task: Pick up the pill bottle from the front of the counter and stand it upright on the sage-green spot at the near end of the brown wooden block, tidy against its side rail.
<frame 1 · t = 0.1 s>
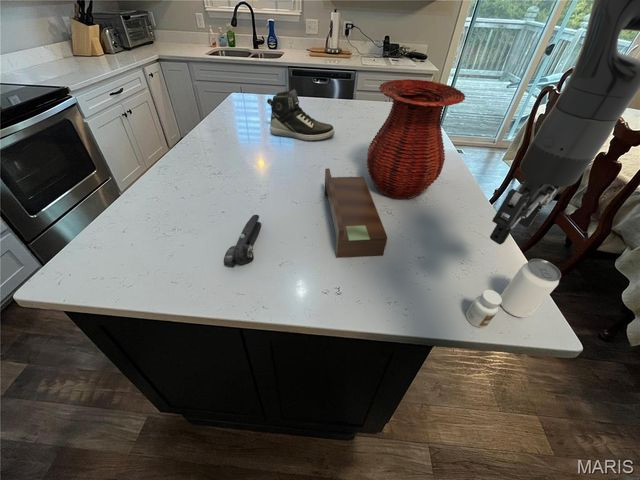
hand: (509, 232, 52), 20 cm above the kitchen island, tool pointing down, fingers open, 8 cm apart
pill bottle: (476, 319, 62), on the kitchen island
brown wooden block: (350, 221, 84), on the kitchen island
vase: (397, 187, 98), on the kitchen island
can: (513, 306, 64), on the kitchen island
athletic shoe: (301, 135, 126), on the kitchen island
can opener: (248, 245, 76), on the kitchen island
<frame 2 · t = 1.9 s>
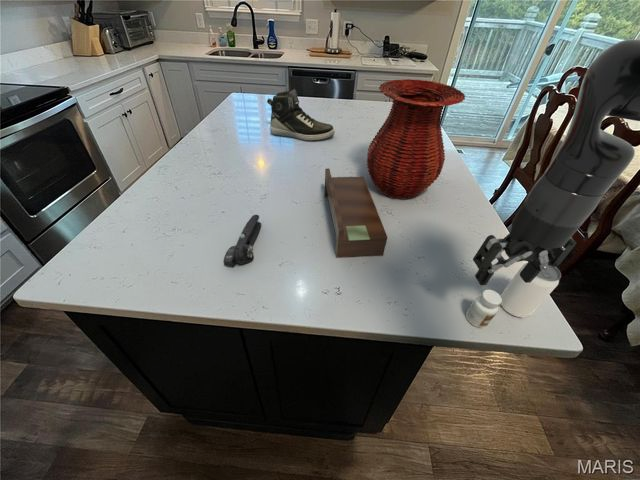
hand: (502, 280, 53), 12 cm above the kitchen island, tool pointing down, fingers open, 8 cm apart
nothing on the kitchen island moved.
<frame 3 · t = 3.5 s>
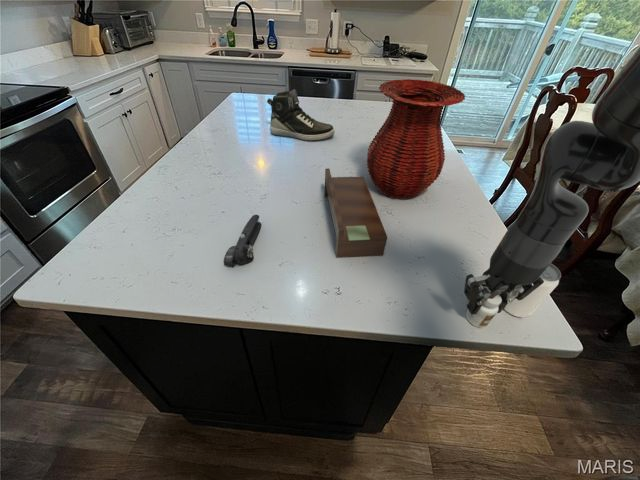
hand: (483, 309, 59), 3 cm above the kitchen island, tool pointing down, fingers closed on pill bottle, 4 cm apart
pill bottle: (476, 319, 62), on the kitchen island, touching gripper
everything else where it was.
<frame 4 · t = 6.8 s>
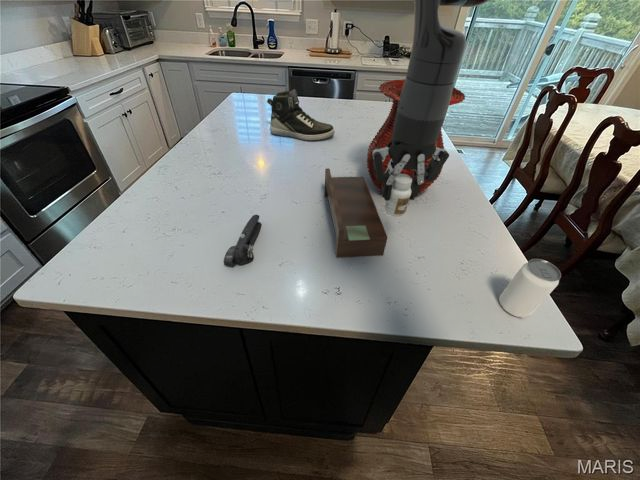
hand: (398, 197, 58), 20 cm above the kitchen island, tool pointing down, fingers closed on pill bottle, 4 cm apart
pill bottle: (394, 211, 61), point 16 cm above the kitchen island, touching gripper
everything else where it was.
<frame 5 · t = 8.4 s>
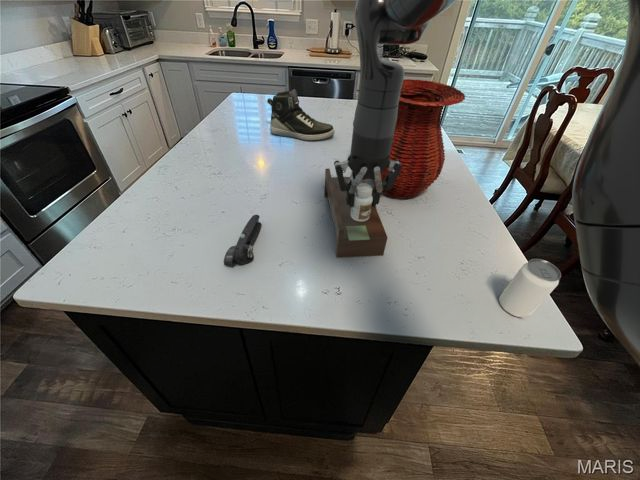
hand: (362, 204, 65), 15 cm above the kitchen island, tool pointing down, fingers closed on pill bottle, 4 cm apart
pill bottle: (359, 216, 67), point 11 cm above the kitchen island, touching gripper
everything else where it was.
when the fingers open (10 cm above the kitchen island, at t = 10.0 s): pill bottle stays where it is, resting on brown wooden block.
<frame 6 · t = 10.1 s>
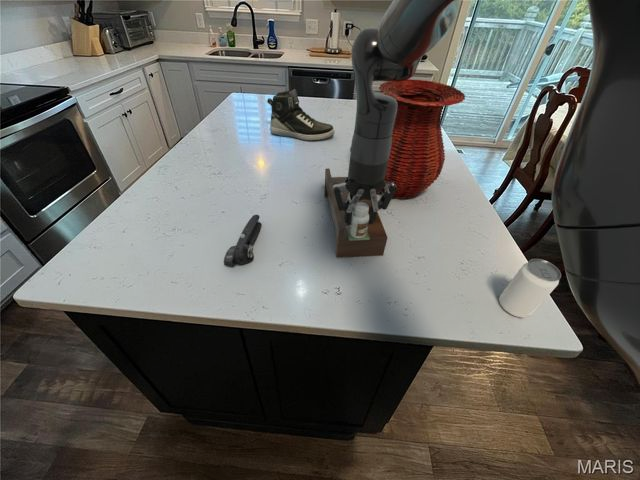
hand: (359, 222, 68), 10 cm above the kitchen island, tool pointing down, fingers open, 4 cm apart
pill bottle: (357, 233, 71), point 6 cm above the kitchen island, touching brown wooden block
everything else where it was.
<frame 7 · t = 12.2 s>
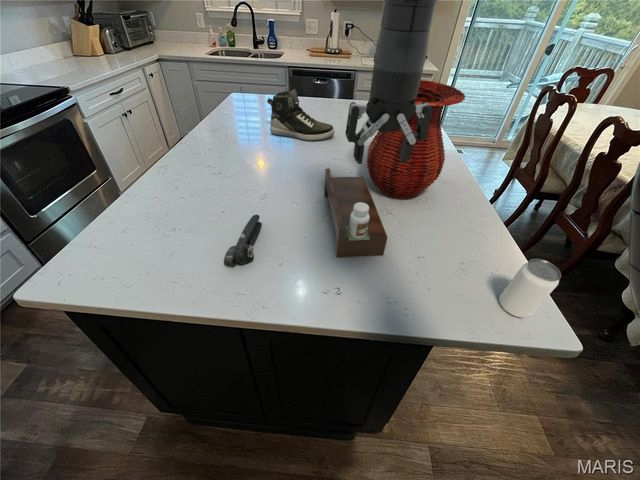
hand: (381, 161, 56), 26 cm above the kitchen island, tool pointing down, fingers open, 8 cm apart
nothing on the kitchen island moved.
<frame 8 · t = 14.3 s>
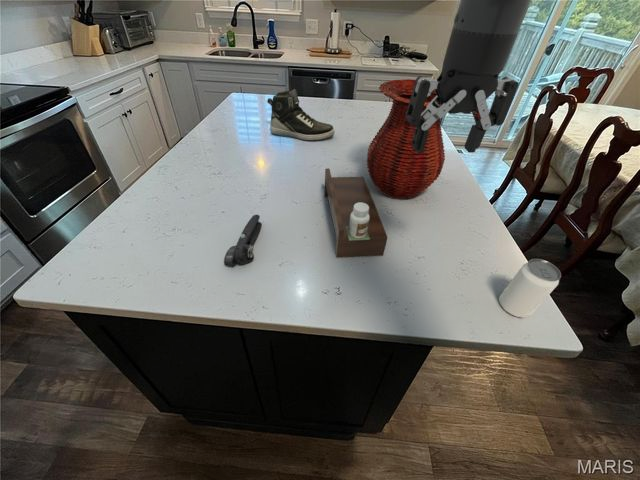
hand: (443, 150, 47), 32 cm above the kitchen island, tool pointing down, fingers open, 8 cm apart
nothing on the kitchen island moved.
at the end: pill bottle 0.1 cm from the target spot on the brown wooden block, point 6.2 cm above the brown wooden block's base; pill bottle tilted 0°; the gripper is holding nothing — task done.
